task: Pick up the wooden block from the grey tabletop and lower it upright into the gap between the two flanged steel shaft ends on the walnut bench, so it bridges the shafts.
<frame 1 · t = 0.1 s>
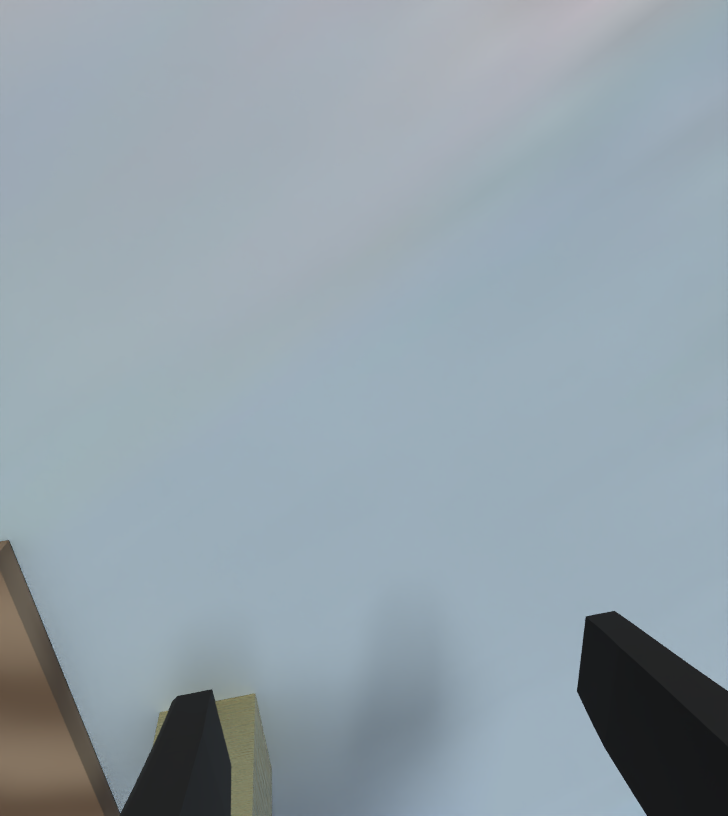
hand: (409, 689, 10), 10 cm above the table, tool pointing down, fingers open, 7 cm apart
wooden block: (218, 740, 24), on the table
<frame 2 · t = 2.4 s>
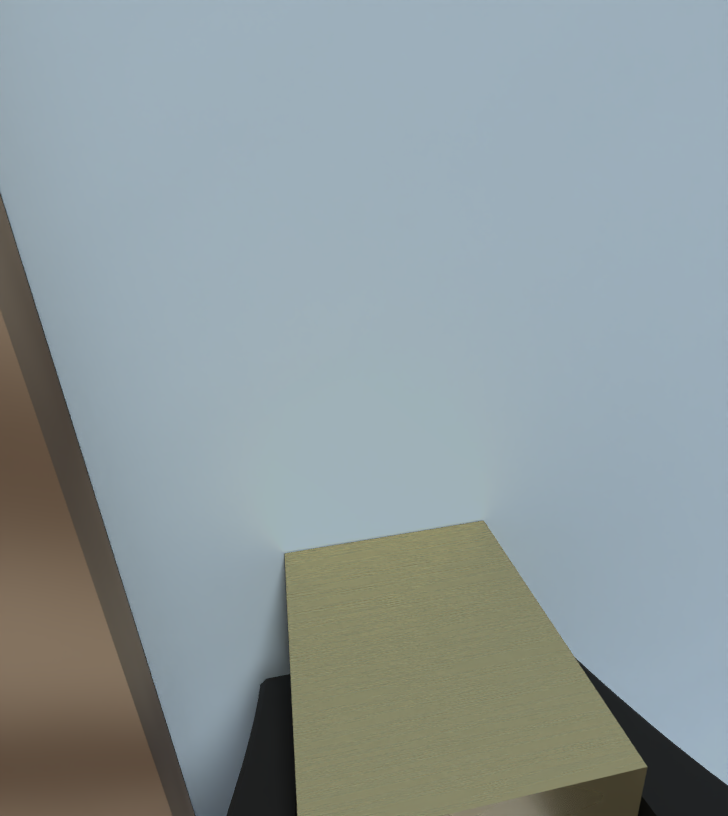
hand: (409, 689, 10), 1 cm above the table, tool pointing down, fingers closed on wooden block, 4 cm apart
wooden block: (393, 632, 11), on the table, touching gripper
when the fingers open (4 cm above the table, at t = 6.0 s): wooden block stays where it is, resting on shaft bench.
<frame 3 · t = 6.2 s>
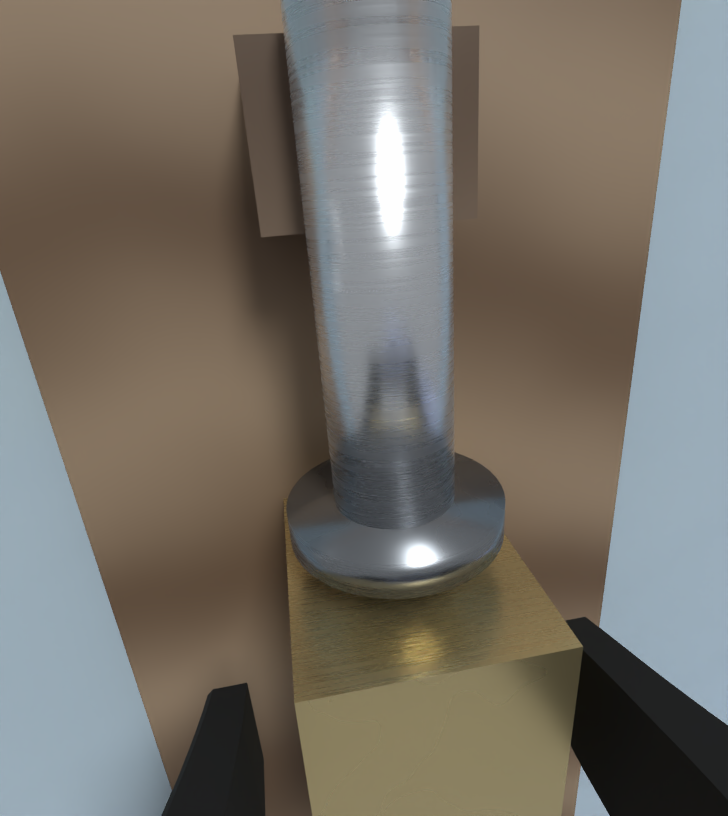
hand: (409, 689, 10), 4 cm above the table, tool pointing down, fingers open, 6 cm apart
wooden block: (380, 576, 13), point 1 cm above the table, touching shaft bench
shaft bench: (372, 559, 14), on the table
shafts: (404, 671, 10), point 4 cm above the table
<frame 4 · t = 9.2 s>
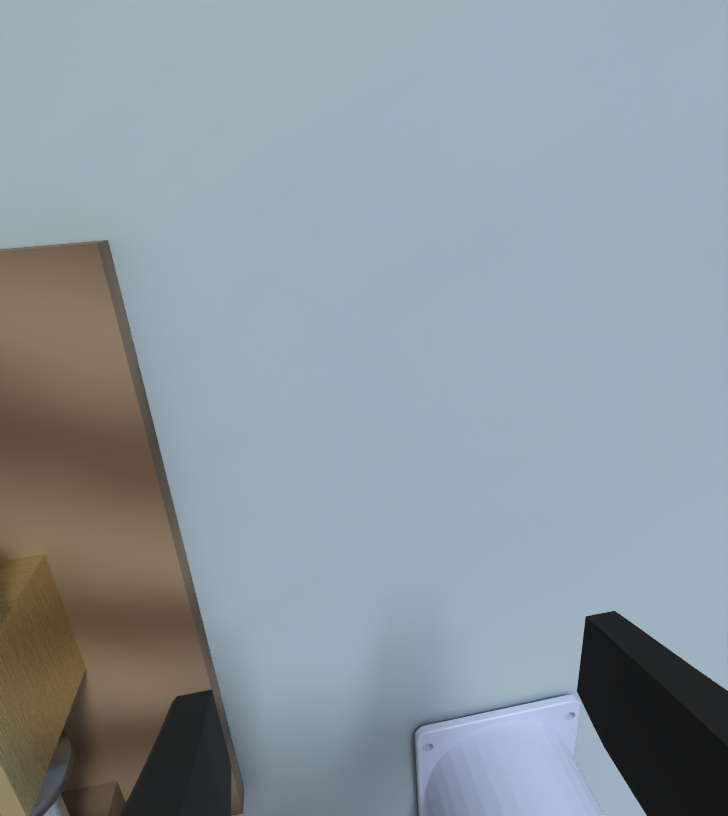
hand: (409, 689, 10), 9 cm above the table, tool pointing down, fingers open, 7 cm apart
wooden block: (3, 624, 18), point 1 cm above the table, touching shaft bench
shaft bench: (18, 609, 19), on the table
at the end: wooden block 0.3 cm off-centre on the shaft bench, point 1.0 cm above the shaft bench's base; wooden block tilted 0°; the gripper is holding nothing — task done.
